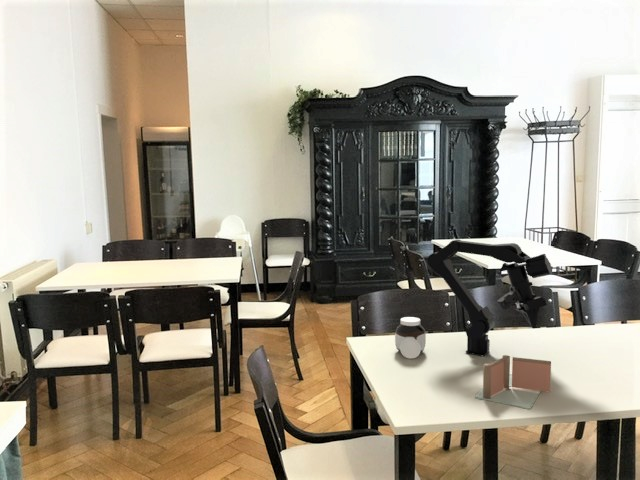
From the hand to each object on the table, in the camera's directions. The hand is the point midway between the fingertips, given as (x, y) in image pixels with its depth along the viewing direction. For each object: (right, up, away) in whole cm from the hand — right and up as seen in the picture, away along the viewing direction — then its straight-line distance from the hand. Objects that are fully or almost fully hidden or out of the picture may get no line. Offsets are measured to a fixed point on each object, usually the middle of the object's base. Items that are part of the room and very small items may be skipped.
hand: (533, 327), depth 173 cm
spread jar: (-38, -11, +11) cm, 41 cm away
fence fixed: (-19, -14, -23) cm, 34 cm away
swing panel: (-11, -14, -22) cm, 29 cm away
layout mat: (-15, -14, -21) cm, 29 cm away
